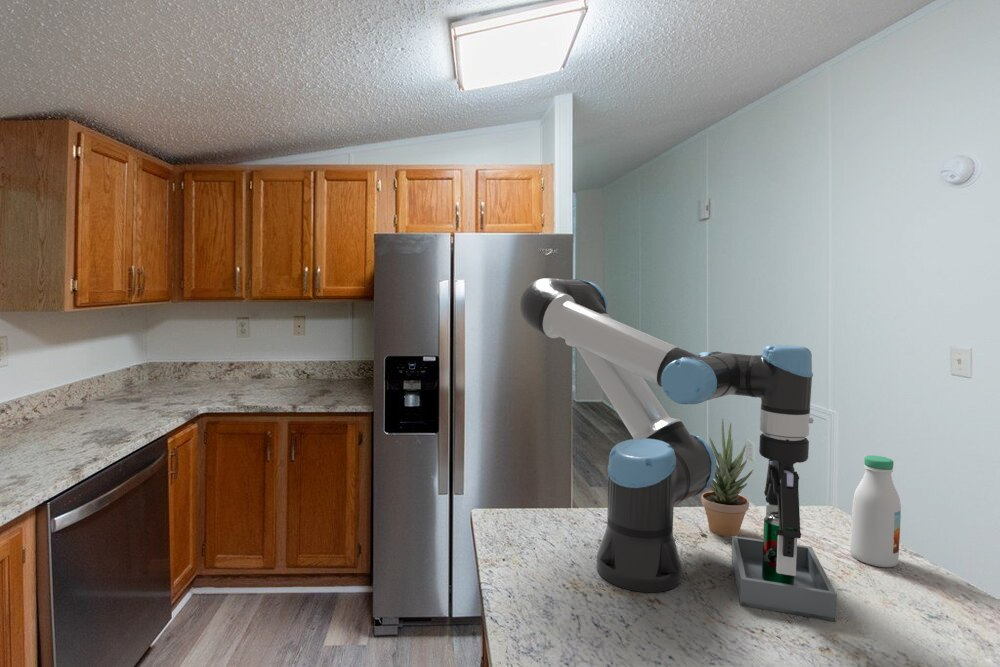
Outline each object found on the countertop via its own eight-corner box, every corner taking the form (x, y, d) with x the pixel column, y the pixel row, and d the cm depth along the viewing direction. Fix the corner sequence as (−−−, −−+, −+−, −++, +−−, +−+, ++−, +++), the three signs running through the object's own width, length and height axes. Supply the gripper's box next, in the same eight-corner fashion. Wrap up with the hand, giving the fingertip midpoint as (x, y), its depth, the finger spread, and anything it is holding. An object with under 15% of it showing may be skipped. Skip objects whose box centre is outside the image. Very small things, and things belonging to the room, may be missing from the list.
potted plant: (719, 518, 125) (723, 412, 124) (757, 534, 117) (761, 420, 115) (689, 527, 120) (693, 416, 118) (726, 544, 112) (731, 425, 110)
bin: (740, 605, 89) (741, 579, 89) (731, 557, 106) (732, 535, 105) (835, 621, 85) (836, 594, 84) (810, 569, 101) (811, 546, 101)
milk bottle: (884, 572, 101) (889, 466, 100) (841, 554, 107) (846, 455, 106) (906, 563, 104) (912, 460, 103) (864, 547, 111) (869, 450, 110)
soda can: (798, 591, 92) (801, 522, 91) (766, 588, 93) (768, 520, 92) (788, 577, 97) (791, 511, 96) (758, 573, 98) (760, 508, 97)
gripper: (826, 456, 81) (820, 595, 82) (794, 422, 104) (789, 530, 105) (771, 451, 83) (765, 586, 84) (751, 419, 107) (747, 524, 108)
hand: (778, 555), depth 95 cm, fingers open, 13 cm apart
